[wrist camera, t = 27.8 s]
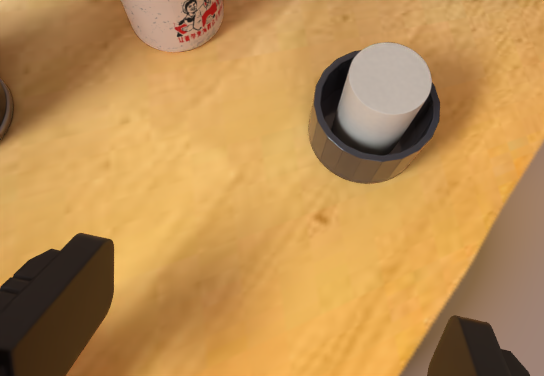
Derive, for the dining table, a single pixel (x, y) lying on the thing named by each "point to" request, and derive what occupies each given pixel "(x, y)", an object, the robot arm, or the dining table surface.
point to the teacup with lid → (174, 22)
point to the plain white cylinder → (381, 97)
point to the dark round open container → (351, 160)
